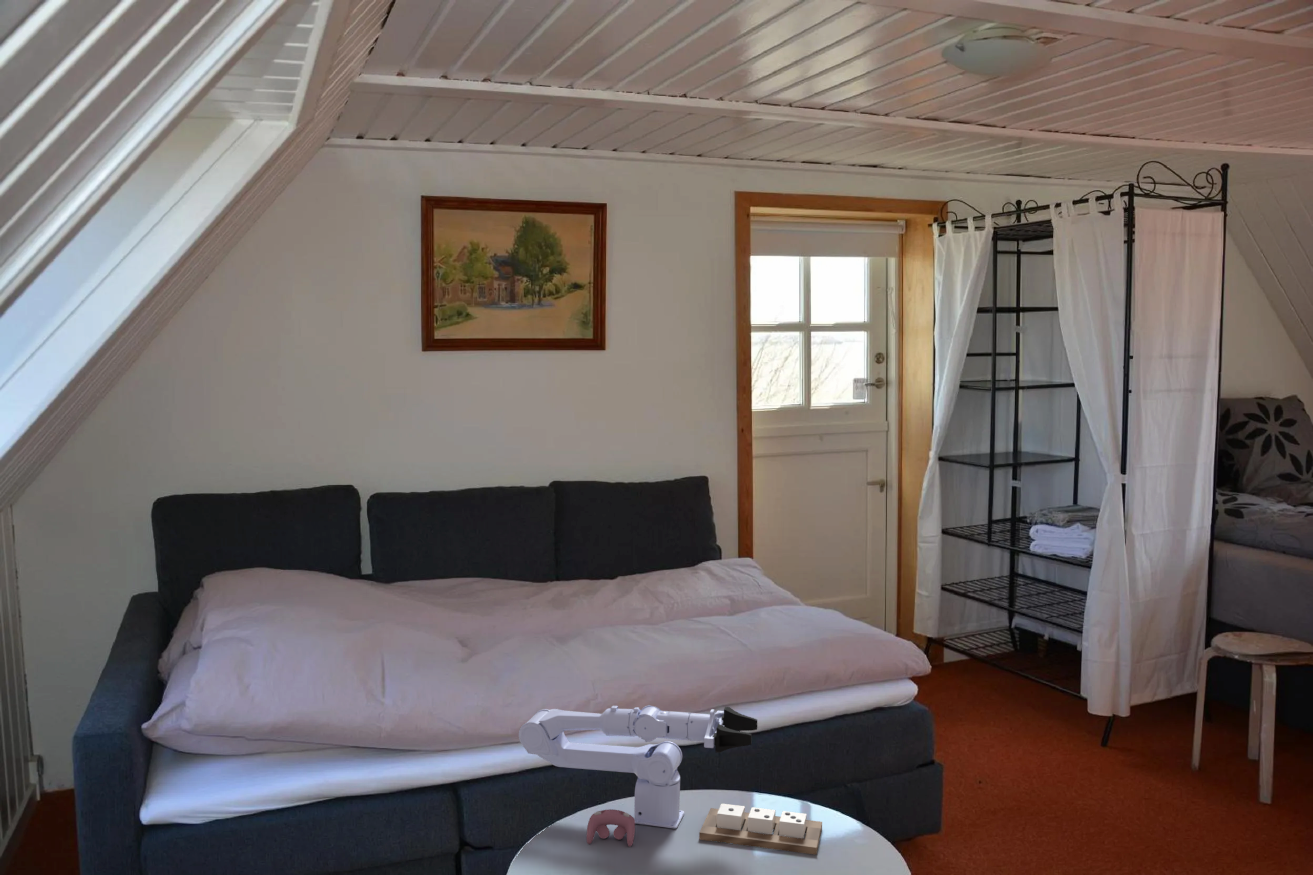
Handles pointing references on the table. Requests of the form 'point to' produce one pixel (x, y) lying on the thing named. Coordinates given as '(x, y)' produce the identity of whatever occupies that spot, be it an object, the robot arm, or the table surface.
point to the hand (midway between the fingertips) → (754, 731)
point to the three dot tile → (792, 824)
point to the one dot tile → (730, 816)
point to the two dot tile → (761, 820)
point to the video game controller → (611, 818)
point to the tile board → (762, 835)
